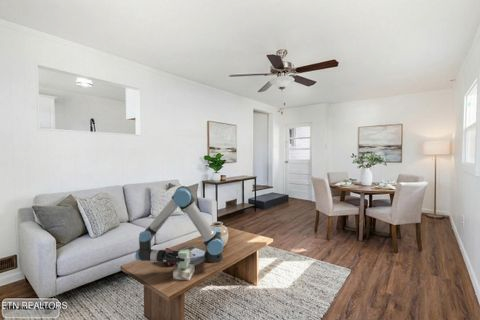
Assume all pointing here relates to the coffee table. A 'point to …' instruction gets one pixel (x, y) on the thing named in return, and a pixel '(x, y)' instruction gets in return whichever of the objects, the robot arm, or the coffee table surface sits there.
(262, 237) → the coffee table surface
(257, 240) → the coffee table surface
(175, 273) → the off-white base block
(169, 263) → the red grape bunch
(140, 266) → the coffee table surface
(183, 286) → the coffee table surface
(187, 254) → the sage green block
